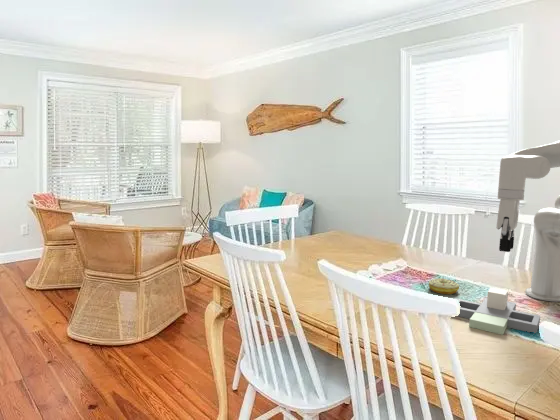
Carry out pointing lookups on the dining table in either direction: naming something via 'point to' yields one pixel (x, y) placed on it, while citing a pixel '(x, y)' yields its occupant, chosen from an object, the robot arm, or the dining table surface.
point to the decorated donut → (443, 286)
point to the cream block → (497, 298)
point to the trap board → (497, 317)
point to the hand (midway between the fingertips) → (506, 249)
